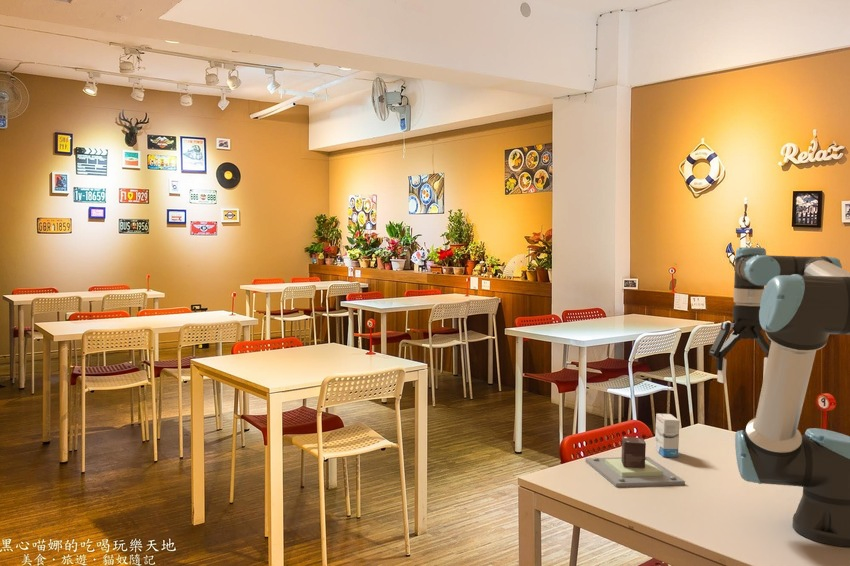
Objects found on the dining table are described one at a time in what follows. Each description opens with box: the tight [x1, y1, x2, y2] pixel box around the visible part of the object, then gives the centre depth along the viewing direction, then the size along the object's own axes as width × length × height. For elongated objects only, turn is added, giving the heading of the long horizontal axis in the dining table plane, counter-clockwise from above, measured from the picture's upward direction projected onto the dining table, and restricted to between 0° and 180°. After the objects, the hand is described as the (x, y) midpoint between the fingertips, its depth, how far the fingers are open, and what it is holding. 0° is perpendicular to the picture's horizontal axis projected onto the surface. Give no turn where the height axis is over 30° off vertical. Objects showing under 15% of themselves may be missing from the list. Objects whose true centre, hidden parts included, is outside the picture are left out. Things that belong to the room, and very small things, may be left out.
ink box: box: [654, 413, 680, 458], centre depth 222 cm, size 8×5×12 cm, turn 179°
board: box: [584, 456, 686, 488], centre depth 203 cm, size 22×20×2 cm
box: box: [621, 436, 647, 468], centre depth 203 cm, size 6×6×7 cm
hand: (744, 382), depth 192 cm, fingers open, 13 cm apart
